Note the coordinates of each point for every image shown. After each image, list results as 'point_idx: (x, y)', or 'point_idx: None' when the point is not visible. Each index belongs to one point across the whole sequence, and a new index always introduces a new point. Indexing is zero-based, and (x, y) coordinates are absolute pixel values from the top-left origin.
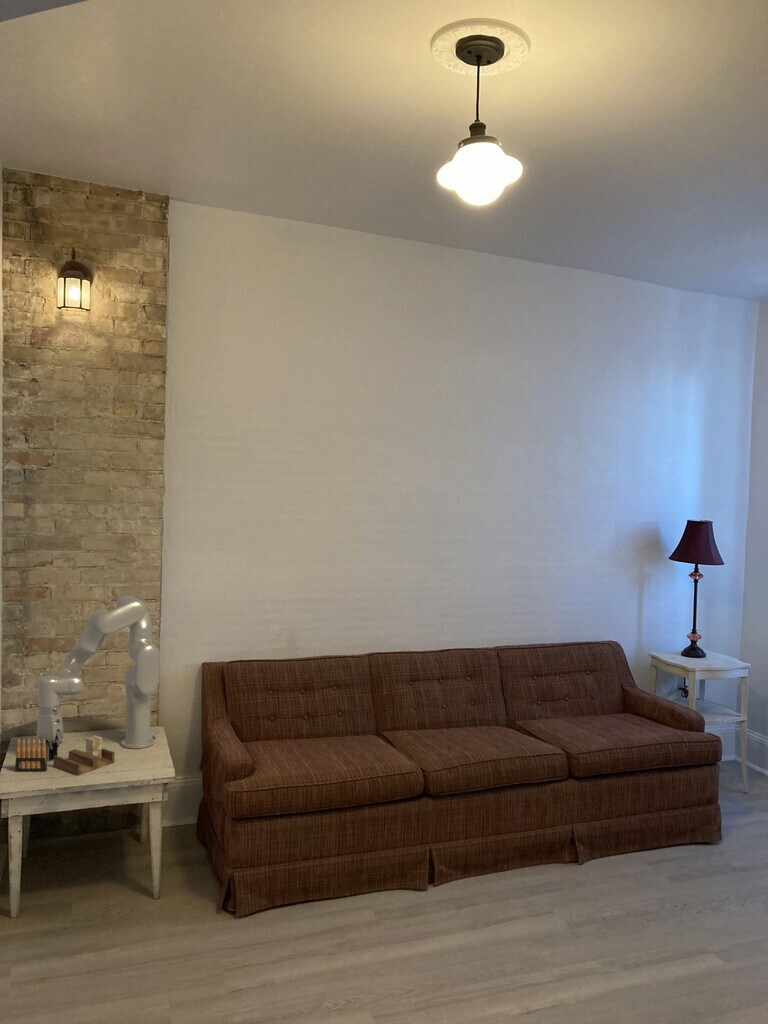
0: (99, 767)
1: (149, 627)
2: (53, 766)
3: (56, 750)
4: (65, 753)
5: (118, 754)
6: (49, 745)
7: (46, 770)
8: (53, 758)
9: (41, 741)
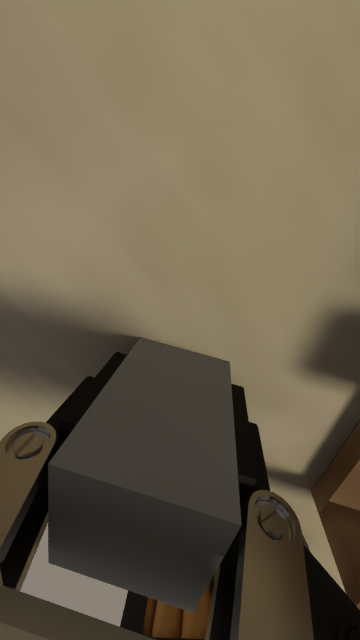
0: None
1: None
2: (313, 495)
3: (264, 475)
4: (214, 220)
5: None
6: (199, 599)
7: (305, 541)
8: (341, 576)
9: (5, 563)
